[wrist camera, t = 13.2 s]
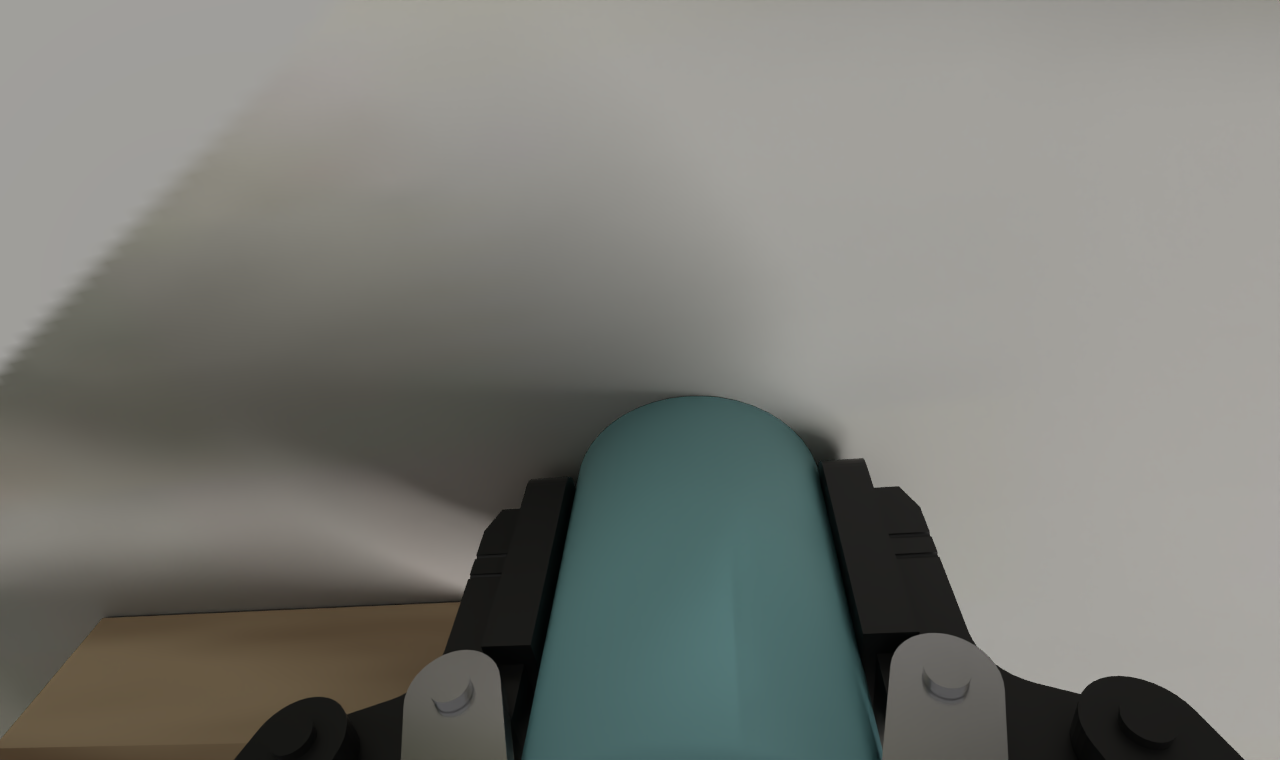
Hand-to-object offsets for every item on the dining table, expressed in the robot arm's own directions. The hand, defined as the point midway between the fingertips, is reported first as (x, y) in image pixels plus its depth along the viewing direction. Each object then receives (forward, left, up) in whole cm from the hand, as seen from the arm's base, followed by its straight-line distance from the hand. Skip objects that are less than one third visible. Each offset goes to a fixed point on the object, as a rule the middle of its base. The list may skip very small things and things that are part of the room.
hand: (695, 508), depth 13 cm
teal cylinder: (0, 0, 0) cm, 0 cm away
